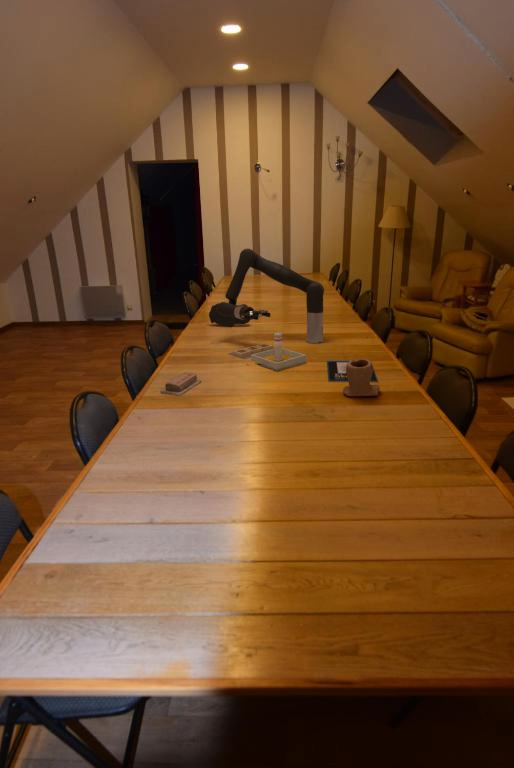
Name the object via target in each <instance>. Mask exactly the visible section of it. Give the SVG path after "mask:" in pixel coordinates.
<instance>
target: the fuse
mask: <svg viewBox="0 0 514 768" xmlns="http://www.w3.org/2000/svg"><path fill="white" fill-rule="evenodd" d="M273 343H274V345H273V349H274V354H273V355H274V357H273V358H274V359H273V361H274V362H281V361H283V354H282V348H283V333H282V332H279V331H277V332H274V333H273Z"/></svg>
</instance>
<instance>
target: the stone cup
mask: <svg viewBox="0 0 514 768" xmlns="http://www.w3.org/2000/svg"><path fill="white" fill-rule="evenodd" d="M349 361H350V362H348V363H347V365H346V375H347V379H348V382H347V383H348V385H346V386H344V387H343V389H342V392H343V394H344V395H346V396H348V397H374V396H375V397H376V396H378V395H379V392H380V387H381V385H380V384H371V383H370V381H371V377H372V373H373V368H374V366H372V365H373V364H372V363H373V362H372V361H371V360H370V359H367V358H358V359H350V360H349ZM370 361H371V362H370Z"/></svg>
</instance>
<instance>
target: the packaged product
mask: <svg viewBox="0 0 514 768" xmlns="http://www.w3.org/2000/svg"><path fill="white" fill-rule="evenodd" d="M201 383H202V380H199V379H198V377H197V374H196V373H194V372H184V373H182V374H180V375H178V376H176V377H175V378H173V379H171V380H170V381H167V382H166V383H165V384H164V385H165V386H164V388H162V389H160V390H159V392H160V394H163V395H165V394H167V395H172V396H177V397H178V396H182V395H183V394H185V393H186V392H188V391H190V390H191V389H193V388H194V387H195V386H197V385H198V384H201Z"/></svg>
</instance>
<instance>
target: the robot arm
mask: <svg viewBox="0 0 514 768" xmlns="http://www.w3.org/2000/svg"><path fill="white" fill-rule="evenodd" d="M250 268H251V269H255V270H256V271H258V272H261V273H263V274H264V275H266V276H267V277H269V278H270V279H272V280H273V281H276V282H277V283H279V284H281V285H285V286H288V287H290V288H295V289H297V290H300V291H302V292H304V293H305V294H306V296H305V297H306V342H307V343H310V344H320V343H319V342H321V343H324V293H325V287H324V286H323V284H322V283H320V282H318V281H316V280H315V281H314V280H312V279H310V278H307V277H304V276H303V275H301V274H299V273H298V272H296V271H295V270H293V269H290V268H289V267H288V266H285V265H283V264H281V263H278V262H275V261H273V260H272V261H271V260H268V259H266V258H264V257H263V256H261V255H259V254H258V253H256V252H255V251H254V250H253V249H251V248H245V249H244V248H243V250H241V252H240V253H239V256H238V261H237V265H236V267H235V272H234V274H233V276H232V278H231V281H230V283H229V286H228V288H227V290H226V292H225V298H226V299H227V300H228V302H226V301H222V302H218V303H219V304H218V305H217V311H218V313H219V314H222V315H224V316H227V317H231V316H232V317H235V318H239V319H242V320H247V321H249V322H251V321H252V320H255V321H258V320H259V318H262V317H267V318H270V317H271V312H269V311H268V310H264V309H259V310H258V309H257V310H256V309H254V307H252V306H249V305H247V306H242V305H241V304H237V301H238V298H239V295H240V294H241V291H242V288H243V285H244V281H245V278H246V276H247V274H248V271H249V269H250ZM240 305H241V306H240Z"/></svg>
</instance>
